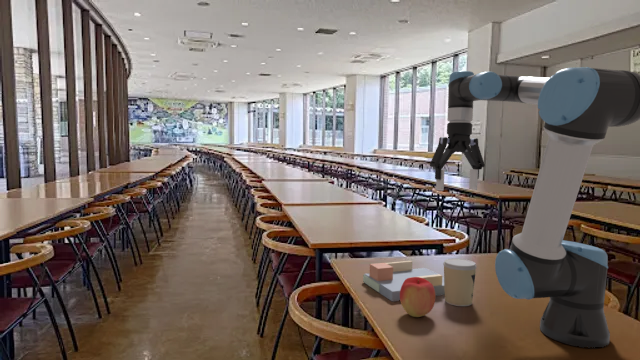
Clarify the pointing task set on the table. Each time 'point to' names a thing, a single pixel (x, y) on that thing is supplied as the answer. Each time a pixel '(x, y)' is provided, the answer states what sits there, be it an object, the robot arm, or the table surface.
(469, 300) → the coffee cup
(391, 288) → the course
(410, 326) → the table surface
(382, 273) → the block
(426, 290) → the apple
